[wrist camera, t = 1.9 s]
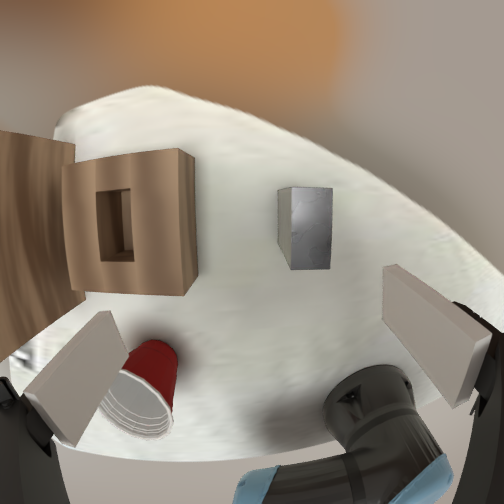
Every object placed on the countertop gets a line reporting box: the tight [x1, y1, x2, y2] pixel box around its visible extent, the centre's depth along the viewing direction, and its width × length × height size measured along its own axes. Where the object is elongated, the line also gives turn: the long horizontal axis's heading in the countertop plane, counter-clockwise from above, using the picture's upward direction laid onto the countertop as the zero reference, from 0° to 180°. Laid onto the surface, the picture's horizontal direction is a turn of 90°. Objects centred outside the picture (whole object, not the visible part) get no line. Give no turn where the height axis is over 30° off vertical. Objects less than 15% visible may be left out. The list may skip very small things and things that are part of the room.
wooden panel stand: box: [0, 130, 198, 362], centre depth 21 cm, size 20×22×22 cm
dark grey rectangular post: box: [278, 187, 333, 270], centre depth 25 cm, size 3×6×12 cm, turn 1°
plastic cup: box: [97, 340, 178, 440], centre depth 29 cm, size 11×11×12 cm
